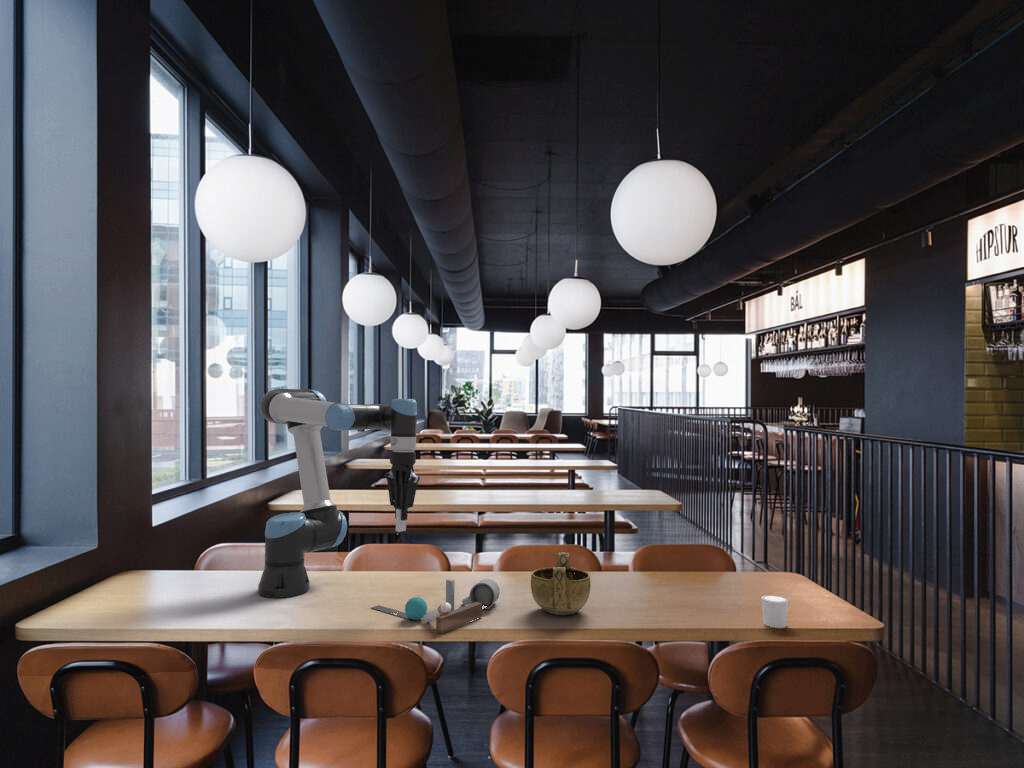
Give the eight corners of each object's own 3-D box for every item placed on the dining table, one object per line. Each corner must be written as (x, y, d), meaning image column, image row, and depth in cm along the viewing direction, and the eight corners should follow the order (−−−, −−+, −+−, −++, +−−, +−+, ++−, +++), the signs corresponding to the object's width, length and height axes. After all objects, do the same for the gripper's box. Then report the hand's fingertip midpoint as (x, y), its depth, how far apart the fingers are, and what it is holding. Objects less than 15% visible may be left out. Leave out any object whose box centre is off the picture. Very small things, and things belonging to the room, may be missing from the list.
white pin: (421, 615, 174) (442, 603, 169) (428, 612, 176) (449, 601, 171) (424, 624, 173) (446, 612, 168) (431, 621, 175) (452, 610, 170)
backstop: (436, 632, 167) (436, 616, 167) (476, 616, 179) (476, 601, 180) (441, 634, 165) (442, 618, 166) (481, 618, 178) (482, 603, 178)
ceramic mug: (501, 602, 192) (500, 576, 193) (494, 611, 184) (494, 583, 185) (466, 600, 194) (466, 575, 195) (458, 609, 186) (458, 582, 187)
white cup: (756, 620, 179) (756, 594, 179) (780, 620, 180) (780, 594, 180) (768, 629, 172) (768, 602, 172) (793, 628, 173) (793, 602, 173)
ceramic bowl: (589, 627, 172) (589, 570, 172) (525, 623, 174) (526, 567, 175) (591, 602, 194) (591, 551, 194) (534, 598, 196) (535, 549, 197)
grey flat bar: (370, 608, 186) (370, 607, 186) (378, 605, 188) (378, 605, 188) (410, 620, 176) (410, 619, 176) (418, 617, 178) (418, 616, 178)
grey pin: (443, 612, 182) (444, 580, 183) (449, 610, 184) (450, 578, 185) (450, 614, 181) (450, 581, 181) (455, 612, 183) (456, 580, 183)
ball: (419, 615, 172) (406, 626, 174) (435, 609, 176) (423, 620, 179) (408, 595, 174) (397, 606, 177) (425, 590, 179) (413, 601, 182)
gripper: (378, 449, 193) (376, 529, 193) (408, 453, 185) (406, 536, 184) (398, 448, 199) (395, 525, 198) (427, 451, 191) (425, 532, 190)
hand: (400, 530), depth 191 cm, fingers closed
